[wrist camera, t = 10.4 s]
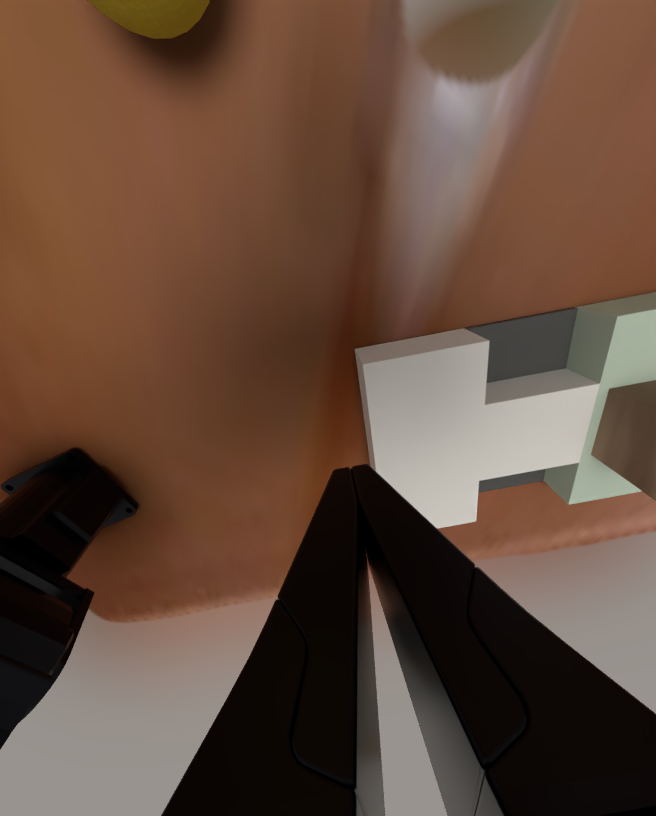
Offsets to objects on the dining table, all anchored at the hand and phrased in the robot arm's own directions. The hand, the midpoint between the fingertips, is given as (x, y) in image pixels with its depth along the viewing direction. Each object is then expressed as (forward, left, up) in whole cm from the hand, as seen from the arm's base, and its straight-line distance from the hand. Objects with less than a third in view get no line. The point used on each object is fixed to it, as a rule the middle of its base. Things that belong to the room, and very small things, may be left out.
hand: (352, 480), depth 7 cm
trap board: (+9, -11, -13) cm, 19 cm away
